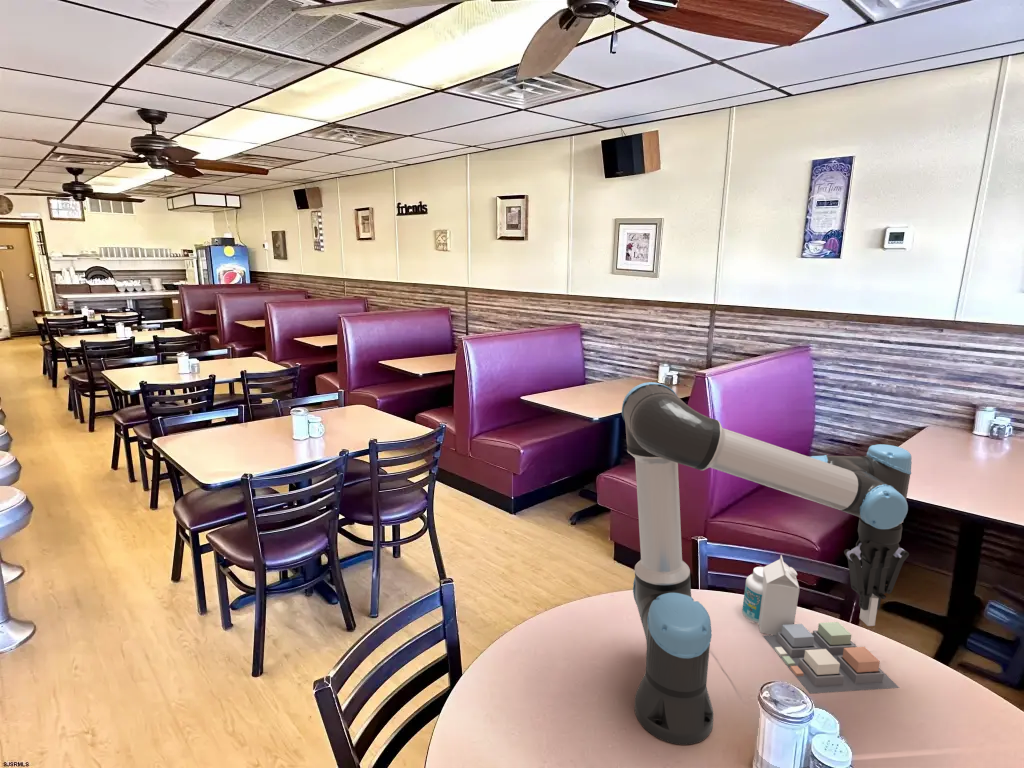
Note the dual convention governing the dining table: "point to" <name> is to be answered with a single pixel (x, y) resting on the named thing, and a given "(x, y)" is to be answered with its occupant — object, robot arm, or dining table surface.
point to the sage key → (834, 633)
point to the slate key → (797, 635)
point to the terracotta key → (861, 659)
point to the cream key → (821, 661)
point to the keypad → (827, 682)
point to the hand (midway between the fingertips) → (867, 621)
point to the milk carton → (778, 597)
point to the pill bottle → (753, 595)
